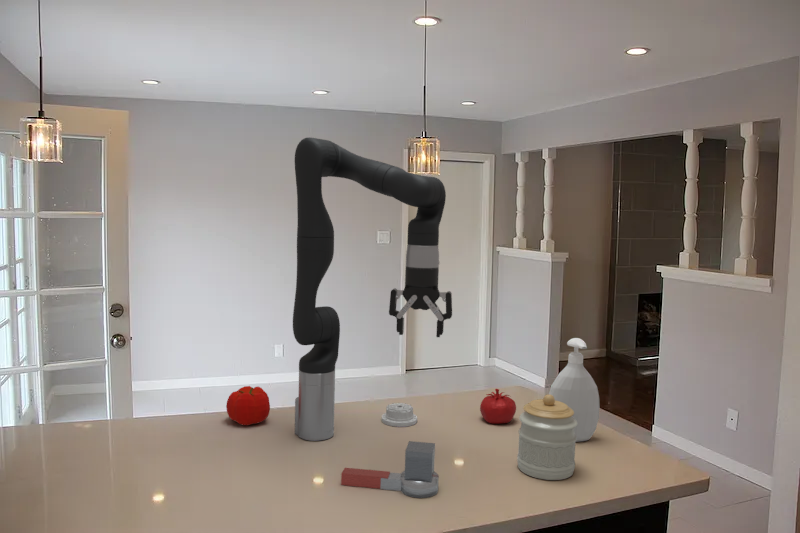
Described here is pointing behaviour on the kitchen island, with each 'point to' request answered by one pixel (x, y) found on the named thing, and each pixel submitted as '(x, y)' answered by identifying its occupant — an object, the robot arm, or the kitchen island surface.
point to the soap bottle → (578, 392)
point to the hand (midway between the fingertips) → (419, 335)
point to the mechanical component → (399, 415)
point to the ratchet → (389, 482)
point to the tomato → (248, 405)
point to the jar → (547, 439)
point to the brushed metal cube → (419, 461)
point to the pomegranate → (497, 408)
